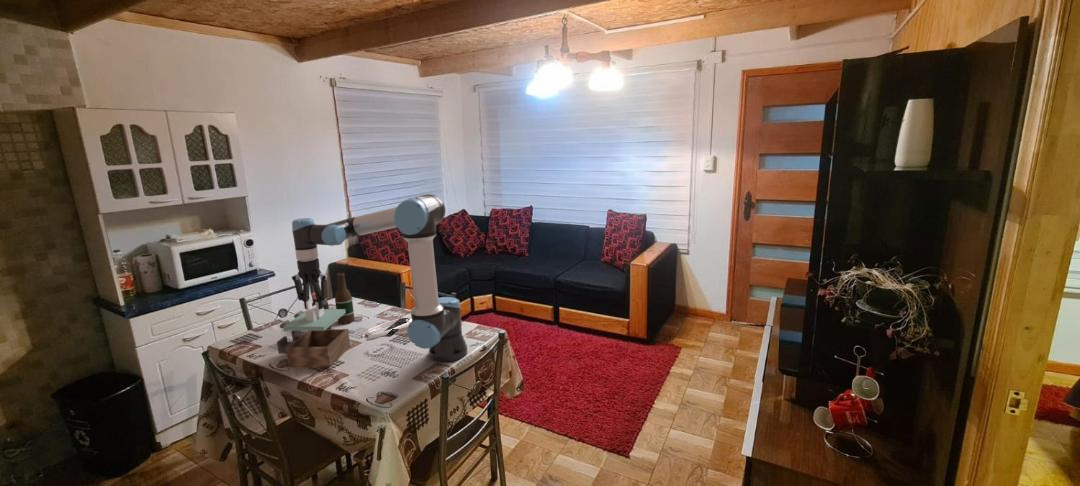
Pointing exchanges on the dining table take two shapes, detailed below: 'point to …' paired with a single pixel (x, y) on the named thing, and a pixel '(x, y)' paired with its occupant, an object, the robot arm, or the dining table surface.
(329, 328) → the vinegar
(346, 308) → the beer bottle
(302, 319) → the door
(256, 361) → the dining table surface
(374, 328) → the door handle
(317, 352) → the cabinet
